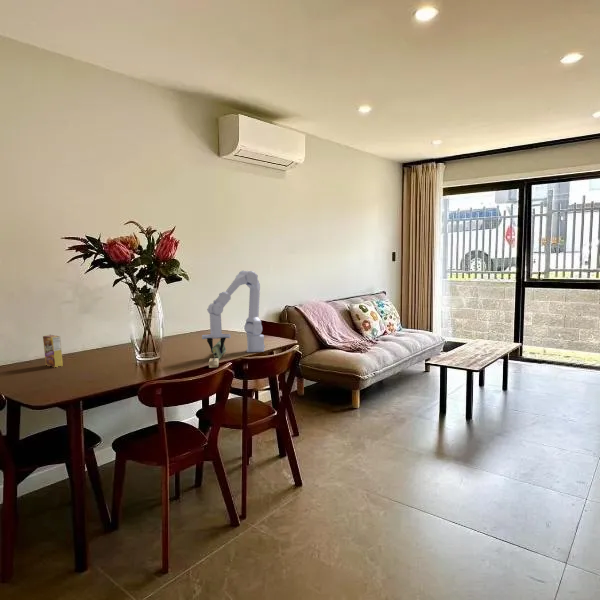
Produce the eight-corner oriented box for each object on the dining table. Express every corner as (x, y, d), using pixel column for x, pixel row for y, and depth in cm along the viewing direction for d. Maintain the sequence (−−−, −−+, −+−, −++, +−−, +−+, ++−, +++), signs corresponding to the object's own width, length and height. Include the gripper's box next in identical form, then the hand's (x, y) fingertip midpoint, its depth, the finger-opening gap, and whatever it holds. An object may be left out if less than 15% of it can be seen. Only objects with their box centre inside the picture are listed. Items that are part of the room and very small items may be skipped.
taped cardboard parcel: (224, 348, 258) (223, 343, 258) (217, 367, 216) (217, 360, 216) (216, 348, 258) (216, 343, 257) (209, 367, 216) (208, 361, 216)
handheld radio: (227, 350, 250) (218, 362, 225) (221, 352, 250) (212, 364, 225) (223, 339, 249) (214, 349, 224) (217, 340, 249) (208, 351, 224)
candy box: (44, 366, 228) (42, 335, 226) (53, 364, 231) (50, 334, 230) (54, 368, 223) (52, 337, 221) (63, 366, 226) (60, 335, 225)
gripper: (200, 328, 231) (201, 354, 232) (229, 327, 232) (230, 353, 233) (202, 326, 238) (203, 351, 239) (230, 324, 239) (231, 350, 240)
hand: (216, 352), depth 237 cm, fingers open, 4 cm apart
